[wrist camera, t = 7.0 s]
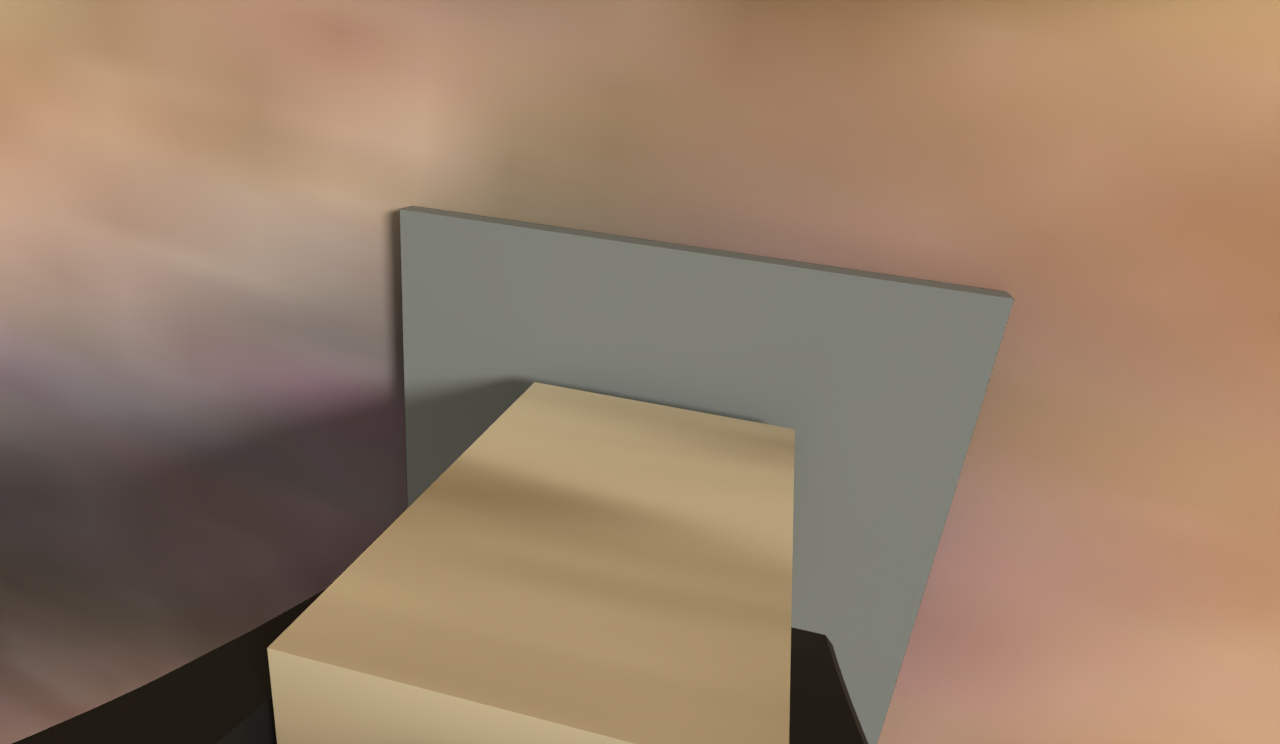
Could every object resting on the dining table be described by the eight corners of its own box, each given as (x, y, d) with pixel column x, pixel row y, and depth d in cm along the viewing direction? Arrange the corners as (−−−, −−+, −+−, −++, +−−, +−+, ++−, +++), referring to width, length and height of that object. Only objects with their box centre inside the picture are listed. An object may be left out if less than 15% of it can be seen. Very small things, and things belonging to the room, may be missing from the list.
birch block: (750, 646, 12) (708, 1112, 6) (522, 593, 12) (300, 974, 7) (794, 429, 10) (787, 782, 5) (534, 381, 11) (267, 647, 6)
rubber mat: (1006, 292, 10) (1014, 299, 10) (866, 756, 13) (867, 775, 13) (413, 205, 11) (399, 209, 11) (421, 644, 15) (411, 658, 14)
